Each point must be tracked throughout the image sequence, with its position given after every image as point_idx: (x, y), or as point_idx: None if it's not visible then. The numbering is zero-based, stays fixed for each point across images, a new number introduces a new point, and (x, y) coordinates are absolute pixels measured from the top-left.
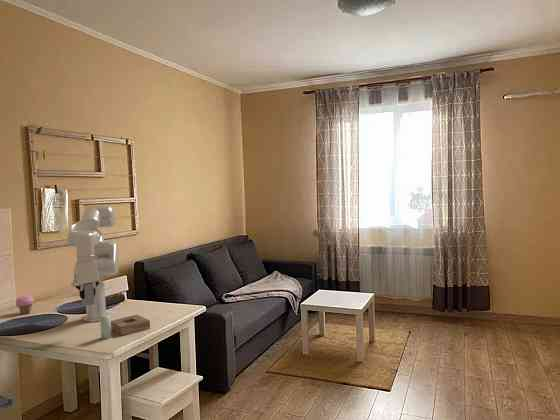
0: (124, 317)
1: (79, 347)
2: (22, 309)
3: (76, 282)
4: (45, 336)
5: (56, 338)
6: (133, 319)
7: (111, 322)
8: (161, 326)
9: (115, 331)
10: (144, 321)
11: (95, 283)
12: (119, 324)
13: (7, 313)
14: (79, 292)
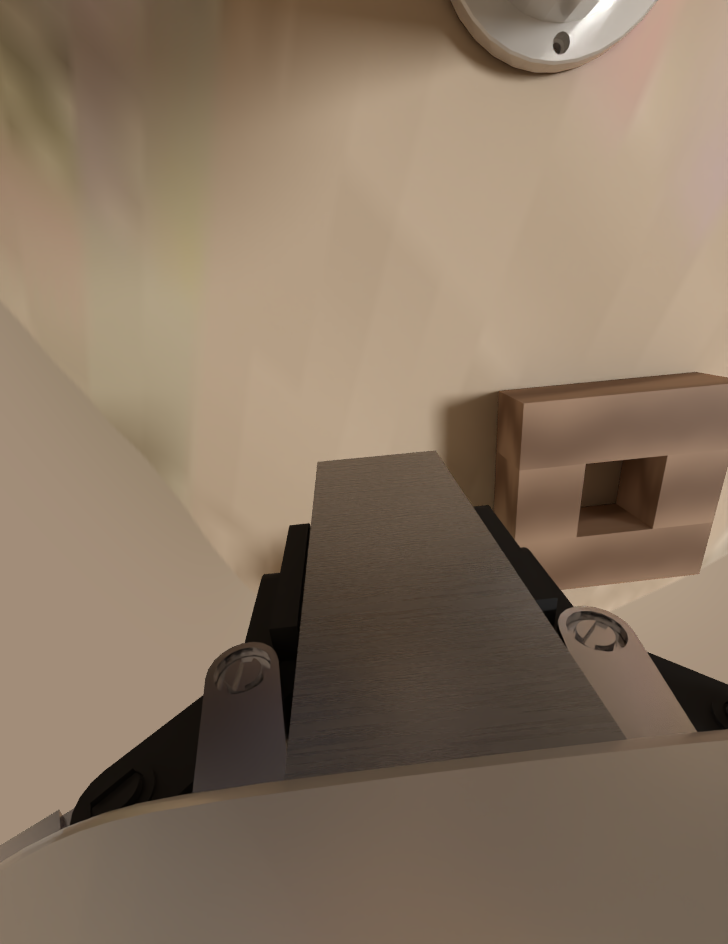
0: (645, 391)
1: (257, 593)
2: None
3: (62, 853)
4: (56, 206)
5: (143, 334)
6: (660, 467)
7: (520, 439)
8: (716, 552)
9: (496, 482)
10: (664, 575)
11: (697, 731)
12: (531, 535)
13: None
14: (249, 627)
